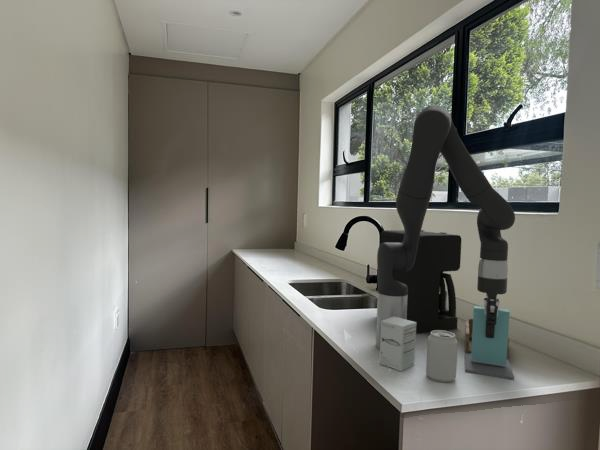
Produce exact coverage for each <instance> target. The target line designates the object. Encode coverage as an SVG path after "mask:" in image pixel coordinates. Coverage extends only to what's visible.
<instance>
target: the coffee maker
mask: <svg viewBox="0 0 600 450" xmlns="http://www.w3.org/2000/svg"><path fill="white" fill-rule="evenodd" d="M404 232H405V230H404V229H403V230H402V229H401V230H396V229H395V230H394V229H393V230H392V229H391V230H385V229H384V230H382V231H381V233H380V244H382V243H402V241H403V239H404ZM461 257H462V237H461V235H459V234H452V233H451V234H450V233H448V232H441V231H439V232H435V231H434V232H433V231H425V230H424V229H423V230H422V229H421V232H420V237H419V243H418V248H417V254H416V259H415V263H414V265H413V267H412V269H411V270H410V271H407V272H392V277H393V279H394V280H396V281H398V282H401V283H404V284H406V285H407V286H408V300H407V320H410V321H414V322H417V324H416V334H418V335H420V334H427V333H430V332H431V331H433V330H444V331H448V330H457V329H458V317H457V300H456V298H457V297H456V290H455V284H454V281H453V277H452V275H451V273H446V272H456V271H459V270H460V268H461V260H462V259H461ZM446 289H447V290H446Z"/></svg>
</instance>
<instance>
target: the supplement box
mask: <svg viewBox="0 0 600 450" xmlns="http://www.w3.org/2000/svg"><path fill="white" fill-rule="evenodd" d="M416 324H417V322H414V321H410V320H406V319H402V318H398V317H391V318H388V319H385V320H382V321H381V337H380V350H379V361H378V364H379V365H382V366H385V367H388V368H391V369H394V370H397V371H398V372H403V371H405V370H407V369H409V368H411V367H413V366H414V365H415V356H416V355H415V354H416V353H415V352H416V339H417V338H416V336H417V335H416V334H417V333H416Z"/></svg>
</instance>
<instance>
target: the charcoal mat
mask: <svg viewBox="0 0 600 450" xmlns="http://www.w3.org/2000/svg"><path fill="white" fill-rule="evenodd" d="M464 372H465V373H468V374H469V373H471V374H477V375H481V376H490V377H495V378H501V379H508V380H515V377H514V373H513V369H512V365H511V362H510V359H509V358H508V359H507V361H506V365H500V364H493V363H487V362H480V361H474V360H471V354H469V353H465V352H464Z"/></svg>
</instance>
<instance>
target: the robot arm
mask: <svg viewBox="0 0 600 450" xmlns="http://www.w3.org/2000/svg"><path fill="white" fill-rule="evenodd" d="M412 133H413V134H412V140H411V146H410V147H411V148H410V153H409V158H408V162H407V164H406V167H405V168H404V172H403V175H402V177H401V181H400V184H399V188H398V191H397V196H396V201H395V207H396V208H395V209H396V211H397V214H398V215H399V218H400V221H401V223H402V225H403V226H402V227H403V230H405V232H404V239H403V241H402V243H382V244H381V243H380V245H379V247H378V248H377V249H378V250H377V255H376V256H377V257H376V261H377V262H376V263H377V264H376V265H377V270H376V271H377V275H376V276H377V278H376V279H377V282H376V283H377V302H376V303H377V306H376V307H377V308H376V330H375V331H376V332H375V334H376V335H375V347H376V348H377V349H378V350H379V351H380V337H381V321H382V320H385V319H388V318H391V317H398V318H402V319H406V320H407V300H408V286H407V285H406V284H404V283H401V282H398V281H396V280H394V279H393V277H392V272H407V271H410V270H411V269H412V267H413V265H414V263H415V259H416V254H417V248H418V243H419V237H420V232H421V230H422V228H423V225H424V220H425V216H426V214H427V210H428V207H429V205H430V201H431V197H432V194H433V193H432V192H433V188H434V184H435V183H434V182H435V175H436V168H437V162H438V159H439V156H440V155H442V157H443V159H444V160H445V163H446V164H447V166H448V168H449V170H450V172H451V174H452V177H453V178H454V180H455V182H456V184H457V186H458V188H459V189H460V190H461V192H462V193H463V195H464V196H465V197H466V199H467V200H468V202H469V204H472V205H474V206H476V207H478V208H479V210H478V212H477V216H476V225H477V232H478V237H479V238H478V239H479V241H480V253H479V263H478V266H477V267H478V268H477V287H476V288H477V291H478V292H480V293H483V294H485V296H483V299H482V301H483V307H484V315H485V316H486V321H485V323H486V333H485V336H486V338H494V331H495V325H496V324H497V322H496V319H497V316H498V308H499V307H500V299H499V298H498V295H505V294H506V293H507V290H508V275H509V274H508V273H509V270H508V269H509V267H508V266H509V265H508V257H509V255H508V251H509V244H508V243H509V242H508V241H507V240H506V239H505V238H503V237H502V232H501V231H506V230H509V229H510V228H512V226H514V224H515V220H516V215H515V214H516V213H515V211H514V209H513V207H512V206H511V205H510V203H509V202H508V201H507V200H506V199H505V198H504V197H503V196H502V195H501V194H500V193H499V192H498V191H496V190H495V189H494V187H493V186H492V184H491V183H490V181H489V180H488V178H487V177H486V175H485V174H484V173H483V171H482V169H481V168H480V167H479V165H478V164H477V163H476V161H475V160H474V158H473V157H472V156H471V154H470V151H468V149H467V148H466V146H465V144H464V143H463V140H462V139H461V137H460V135H459V133H458V131H457V128H456V126H455V125H454V122H453V119H452V117H451V113H450V112H449V110H448V109H446V108H445V107H444V106H441V105H438V104H431V105H428V106H426V107H424V108H423V109H422V110H421V111H420V112H419V114H418V115H417V117H416V118H415V120H414V123H413V132H412ZM486 310H487V312H486ZM489 317H491V318H494V320H489Z"/></svg>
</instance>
